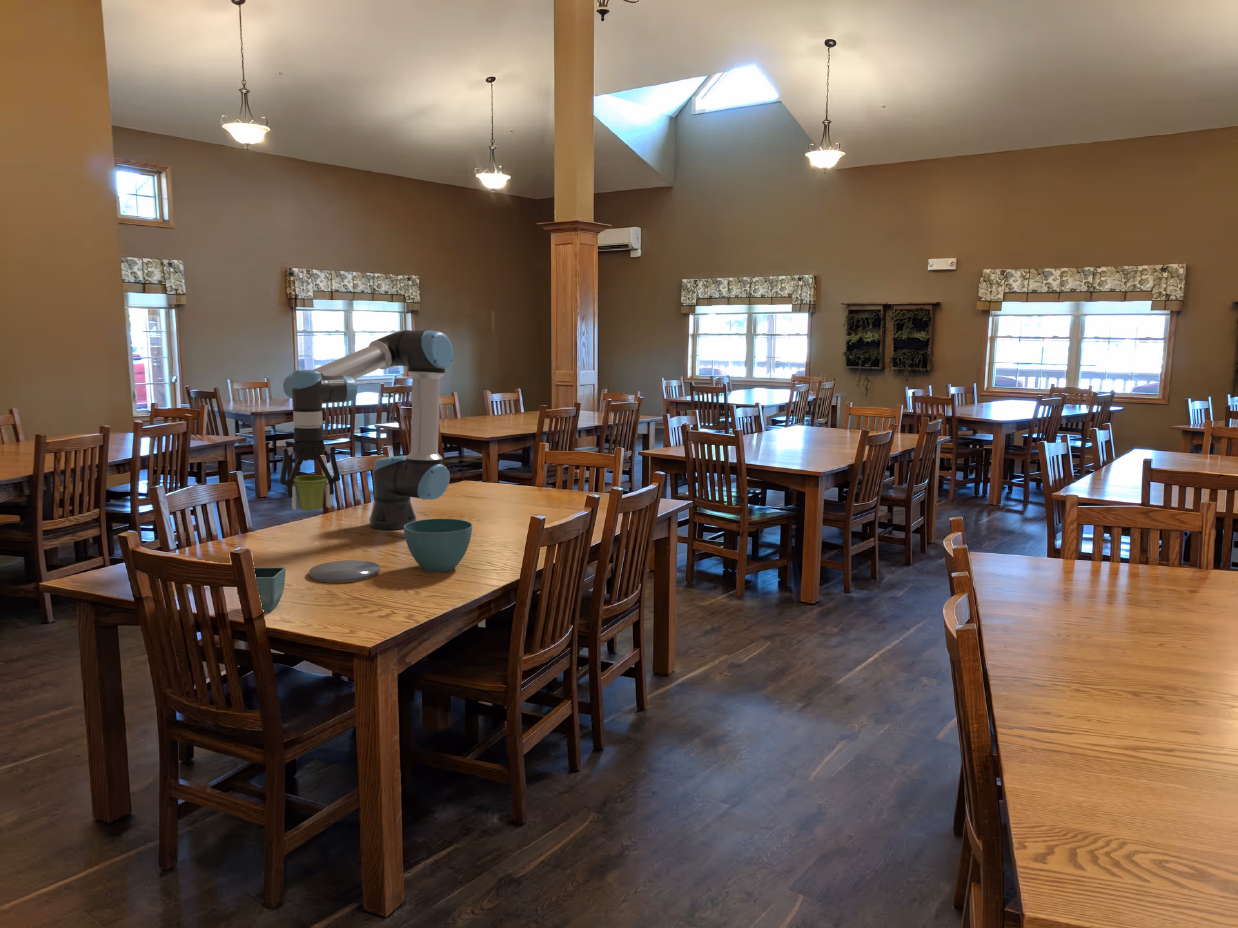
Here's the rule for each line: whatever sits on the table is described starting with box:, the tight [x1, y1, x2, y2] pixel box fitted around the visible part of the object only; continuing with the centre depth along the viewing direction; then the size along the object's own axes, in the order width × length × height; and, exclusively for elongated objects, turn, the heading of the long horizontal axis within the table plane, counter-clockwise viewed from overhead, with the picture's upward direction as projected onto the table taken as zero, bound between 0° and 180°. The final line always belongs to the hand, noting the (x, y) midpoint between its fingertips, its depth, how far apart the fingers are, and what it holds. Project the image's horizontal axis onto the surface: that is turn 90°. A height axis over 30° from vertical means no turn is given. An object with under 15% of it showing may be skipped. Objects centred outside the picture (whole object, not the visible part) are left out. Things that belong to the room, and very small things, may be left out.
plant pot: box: [293, 474, 328, 511], centre depth 232 cm, size 9×9×9 cm
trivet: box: [308, 559, 381, 584], centre depth 222 cm, size 18×18×1 cm
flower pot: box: [236, 566, 287, 613], centre depth 191 cm, size 9×9×9 cm
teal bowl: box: [403, 518, 473, 574], centre depth 228 cm, size 18×18×12 cm
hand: (311, 507), depth 232 cm, fingers closed on plant pot, 8 cm apart
